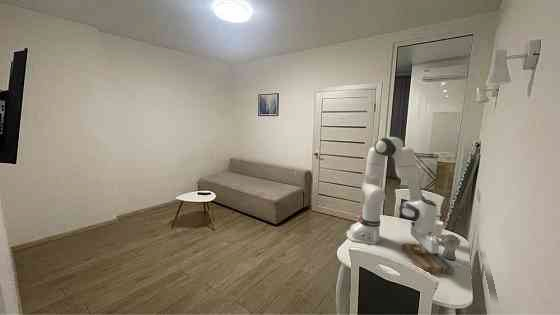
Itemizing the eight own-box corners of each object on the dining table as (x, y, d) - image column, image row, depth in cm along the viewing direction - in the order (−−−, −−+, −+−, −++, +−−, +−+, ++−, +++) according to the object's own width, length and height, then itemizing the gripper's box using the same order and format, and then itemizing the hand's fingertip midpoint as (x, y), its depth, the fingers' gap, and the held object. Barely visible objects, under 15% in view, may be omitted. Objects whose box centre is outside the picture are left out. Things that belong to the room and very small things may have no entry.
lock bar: (435, 252, 125) (436, 247, 124) (438, 255, 122) (439, 250, 122) (412, 250, 126) (412, 245, 126) (414, 253, 123) (415, 248, 123)
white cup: (442, 239, 148) (444, 225, 146) (428, 235, 152) (430, 222, 150) (441, 234, 154) (442, 221, 153) (428, 231, 158) (429, 218, 157)
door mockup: (421, 273, 114) (422, 262, 113) (402, 249, 135) (402, 239, 134) (453, 275, 112) (455, 264, 111) (428, 250, 134) (429, 241, 133)
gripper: (443, 238, 109) (440, 263, 111) (420, 220, 129) (417, 241, 132) (431, 237, 110) (427, 262, 112) (409, 220, 130) (407, 241, 132)
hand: (422, 251), depth 122 cm, fingers closed
